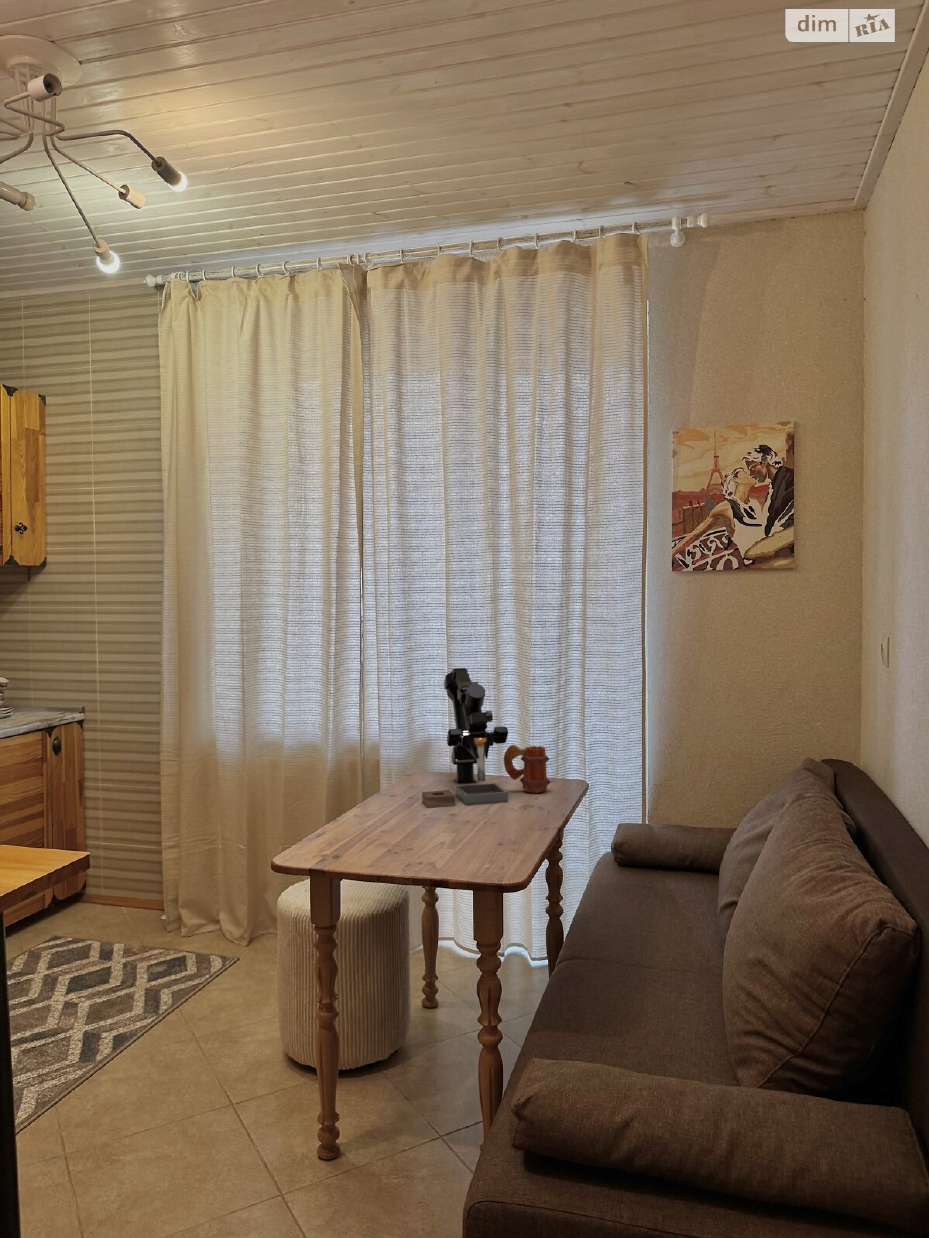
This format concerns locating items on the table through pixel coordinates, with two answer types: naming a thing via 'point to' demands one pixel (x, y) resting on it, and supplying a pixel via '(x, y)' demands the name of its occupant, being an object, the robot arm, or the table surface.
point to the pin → (480, 757)
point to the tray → (481, 794)
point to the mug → (528, 767)
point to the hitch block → (438, 798)
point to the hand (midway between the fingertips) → (481, 758)
